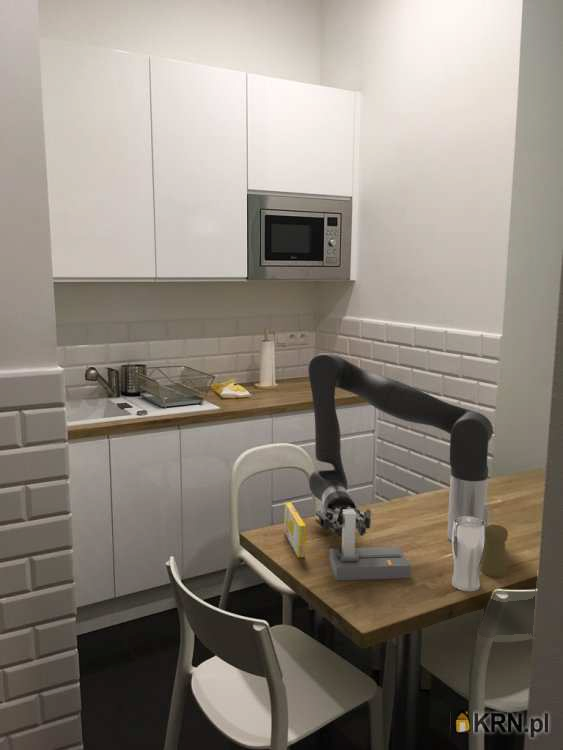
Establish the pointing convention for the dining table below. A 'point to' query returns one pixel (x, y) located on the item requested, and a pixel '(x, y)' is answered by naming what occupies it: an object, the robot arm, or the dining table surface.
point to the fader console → (371, 564)
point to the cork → (494, 552)
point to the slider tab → (348, 536)
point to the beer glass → (467, 552)
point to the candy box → (295, 530)
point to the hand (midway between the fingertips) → (350, 531)
